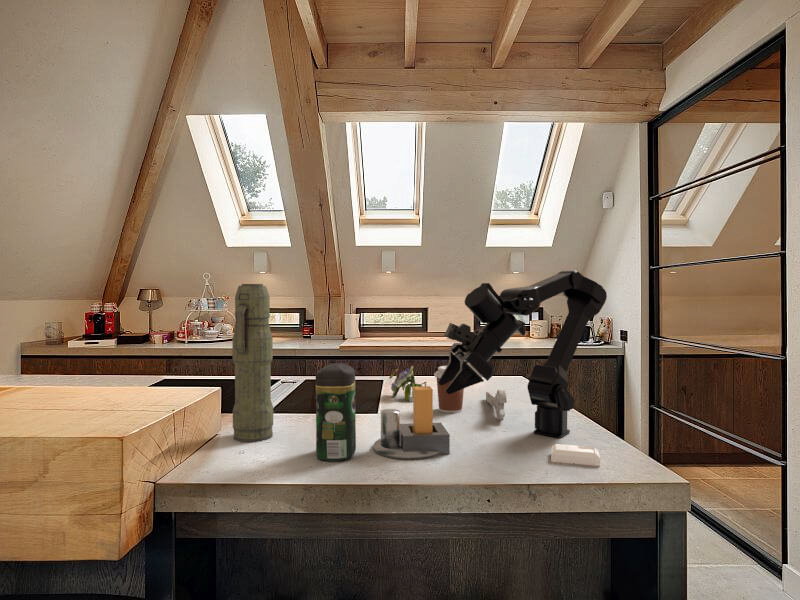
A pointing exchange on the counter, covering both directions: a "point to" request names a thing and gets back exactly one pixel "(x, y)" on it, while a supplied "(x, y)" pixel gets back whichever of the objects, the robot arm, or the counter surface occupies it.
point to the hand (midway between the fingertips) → (443, 388)
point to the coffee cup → (448, 395)
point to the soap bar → (575, 454)
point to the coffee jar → (335, 412)
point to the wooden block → (422, 409)
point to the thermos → (252, 364)
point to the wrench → (497, 402)
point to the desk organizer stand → (409, 439)
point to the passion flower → (404, 382)
